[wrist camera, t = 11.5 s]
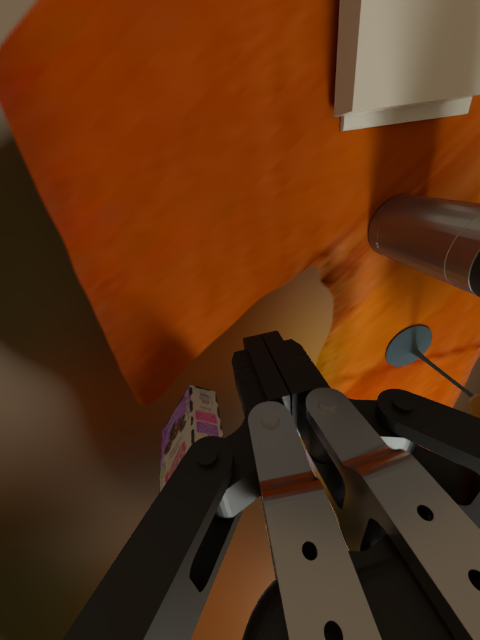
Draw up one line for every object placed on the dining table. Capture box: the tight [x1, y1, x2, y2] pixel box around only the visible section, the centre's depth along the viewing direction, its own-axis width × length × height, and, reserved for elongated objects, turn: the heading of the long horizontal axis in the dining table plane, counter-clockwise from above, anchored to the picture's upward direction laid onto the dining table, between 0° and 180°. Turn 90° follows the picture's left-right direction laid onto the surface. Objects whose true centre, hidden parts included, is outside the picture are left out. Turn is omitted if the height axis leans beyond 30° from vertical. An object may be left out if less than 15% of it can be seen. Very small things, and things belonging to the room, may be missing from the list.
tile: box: [334, 0, 480, 117], centre depth 28 cm, size 4×12×16 cm
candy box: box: [159, 385, 223, 493], centre depth 46 cm, size 14×6×16 cm, turn 149°
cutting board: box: [340, 97, 472, 131], centre depth 30 cm, size 18×15×1 cm
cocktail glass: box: [386, 325, 480, 418], centre depth 47 cm, size 18×18×25 cm
